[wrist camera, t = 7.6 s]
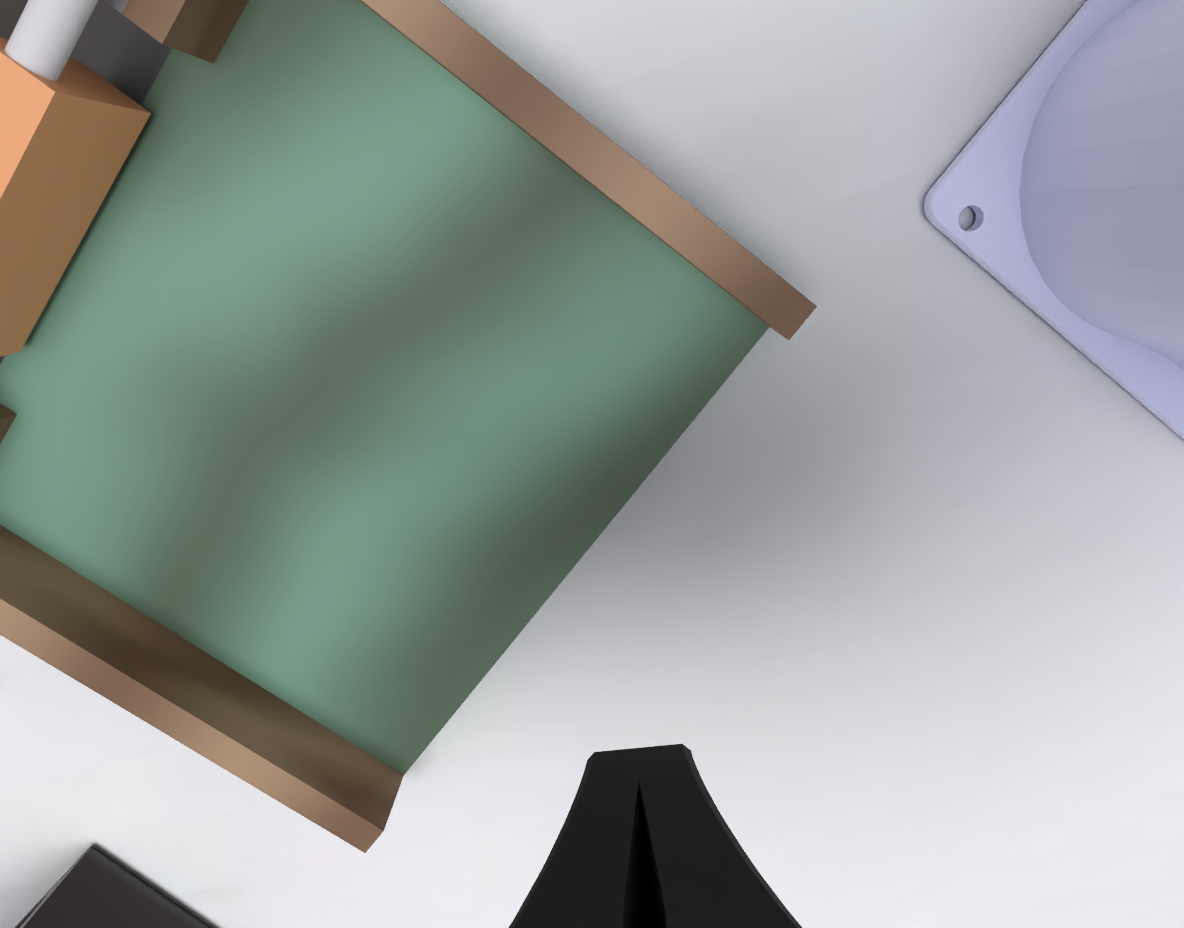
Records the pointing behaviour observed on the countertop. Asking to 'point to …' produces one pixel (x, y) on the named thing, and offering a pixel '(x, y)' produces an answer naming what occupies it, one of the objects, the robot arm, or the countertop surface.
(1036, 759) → the countertop surface
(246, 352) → the pitch
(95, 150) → the kicker
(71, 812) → the countertop surface
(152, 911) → the phone stand
